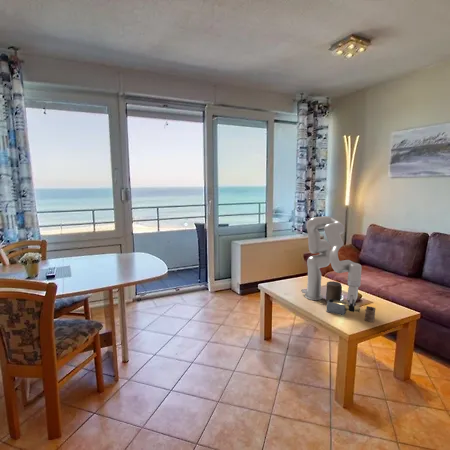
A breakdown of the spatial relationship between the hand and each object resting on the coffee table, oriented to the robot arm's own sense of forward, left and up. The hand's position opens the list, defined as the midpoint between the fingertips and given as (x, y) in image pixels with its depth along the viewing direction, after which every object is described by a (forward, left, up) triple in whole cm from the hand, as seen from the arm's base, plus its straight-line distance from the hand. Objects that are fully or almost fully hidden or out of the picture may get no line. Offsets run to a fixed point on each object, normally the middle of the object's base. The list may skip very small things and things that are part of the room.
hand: (351, 309), depth 193 cm
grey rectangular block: (-10, 0, -4) cm, 10 cm away
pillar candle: (-15, +16, -4) cm, 22 cm away
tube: (-4, 0, -1) cm, 4 cm away
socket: (+10, 0, -4) cm, 11 cm away
